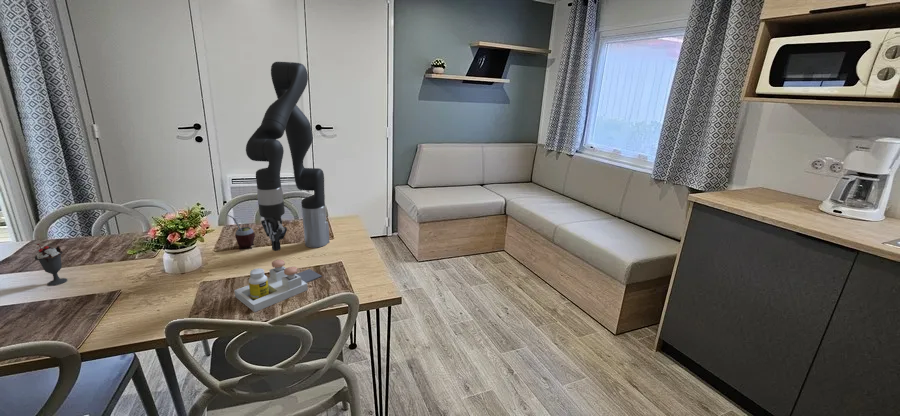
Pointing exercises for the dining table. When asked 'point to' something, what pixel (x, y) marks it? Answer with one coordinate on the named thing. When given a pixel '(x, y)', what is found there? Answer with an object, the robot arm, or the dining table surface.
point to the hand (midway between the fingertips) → (276, 249)
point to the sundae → (51, 263)
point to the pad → (308, 275)
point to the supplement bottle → (258, 284)
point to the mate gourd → (244, 236)
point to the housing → (273, 290)
